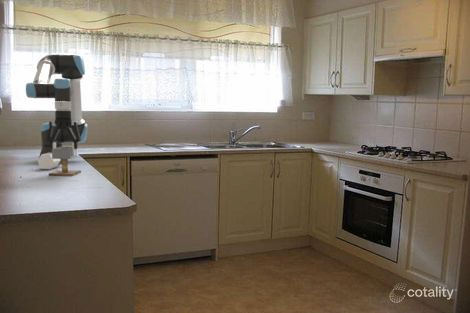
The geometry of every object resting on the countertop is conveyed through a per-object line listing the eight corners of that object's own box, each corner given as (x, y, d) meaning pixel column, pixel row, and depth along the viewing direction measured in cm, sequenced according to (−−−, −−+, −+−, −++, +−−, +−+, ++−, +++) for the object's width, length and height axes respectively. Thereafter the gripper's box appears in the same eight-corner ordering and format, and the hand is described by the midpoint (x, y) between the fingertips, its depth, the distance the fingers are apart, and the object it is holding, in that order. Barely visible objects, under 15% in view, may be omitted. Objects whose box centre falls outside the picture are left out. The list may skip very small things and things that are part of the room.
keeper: (57, 172, 256) (57, 156, 255) (80, 172, 256) (80, 156, 255) (48, 175, 244) (47, 159, 243) (72, 175, 244) (72, 159, 243)
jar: (54, 169, 264) (62, 166, 276) (53, 154, 263) (62, 152, 275) (37, 169, 264) (46, 166, 276) (36, 154, 263) (46, 151, 275)
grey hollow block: (59, 156, 253) (58, 147, 253) (76, 157, 253) (76, 147, 253) (52, 158, 244) (51, 148, 244) (70, 159, 244) (70, 148, 244)
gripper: (38, 110, 243) (39, 156, 245) (82, 110, 242) (83, 156, 244) (44, 109, 250) (45, 154, 252) (87, 110, 250) (88, 155, 252)
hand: (64, 155), depth 248 cm, fingers closed on grey hollow block, 9 cm apart
